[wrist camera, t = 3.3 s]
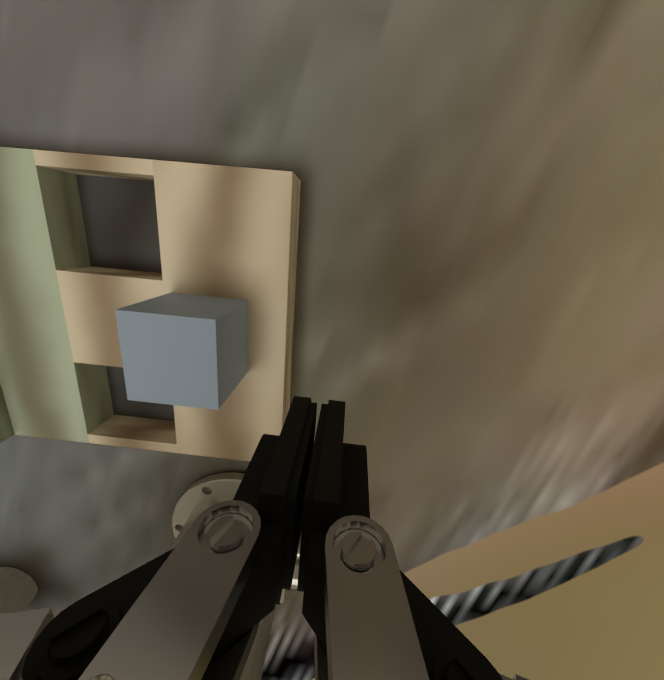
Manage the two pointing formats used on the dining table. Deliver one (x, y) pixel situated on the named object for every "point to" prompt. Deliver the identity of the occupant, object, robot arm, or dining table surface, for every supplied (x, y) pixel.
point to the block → (184, 349)
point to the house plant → (15, 590)
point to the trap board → (139, 292)
